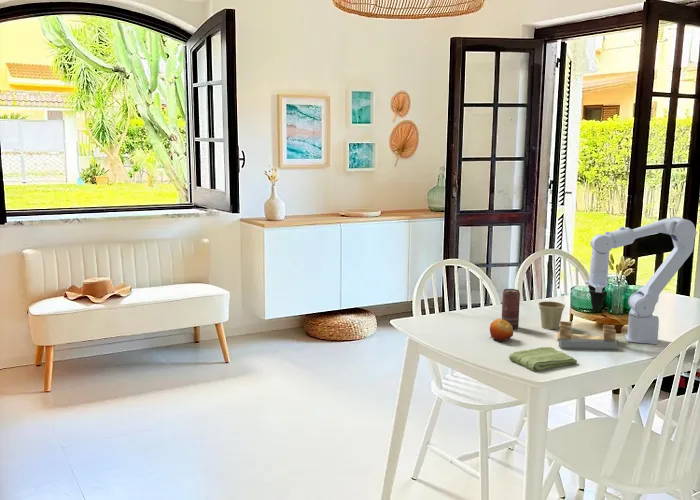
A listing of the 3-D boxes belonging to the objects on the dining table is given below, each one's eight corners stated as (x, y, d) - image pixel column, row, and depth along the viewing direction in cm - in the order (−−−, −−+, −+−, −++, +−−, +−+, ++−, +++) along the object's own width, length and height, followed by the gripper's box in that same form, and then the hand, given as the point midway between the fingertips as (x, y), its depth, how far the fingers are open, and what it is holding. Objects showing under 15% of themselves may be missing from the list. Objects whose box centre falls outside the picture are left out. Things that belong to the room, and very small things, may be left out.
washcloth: (579, 365, 199) (580, 355, 199) (534, 374, 192) (535, 363, 191) (548, 353, 211) (549, 343, 210) (505, 360, 203) (506, 350, 203)
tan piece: (615, 339, 224) (616, 325, 223) (617, 346, 217) (618, 331, 216) (557, 334, 229) (558, 320, 228) (557, 340, 222) (558, 326, 221)
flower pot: (565, 331, 233) (566, 308, 232) (537, 330, 235) (539, 306, 234) (562, 324, 242) (563, 302, 241) (536, 323, 244) (537, 300, 243)
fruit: (492, 329, 230) (503, 313, 226) (509, 345, 226) (520, 328, 222) (479, 334, 225) (490, 317, 221) (496, 350, 221) (507, 333, 217)
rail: (613, 348, 216) (614, 339, 215) (616, 351, 213) (617, 342, 212) (558, 347, 216) (558, 338, 216) (560, 350, 213) (561, 341, 213)
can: (512, 331, 234) (514, 292, 232) (497, 327, 239) (499, 289, 236) (522, 327, 238) (524, 290, 236) (507, 324, 242) (509, 287, 240)
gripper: (585, 265, 230) (582, 302, 232) (587, 272, 216) (584, 312, 219) (607, 266, 228) (603, 304, 230) (610, 274, 214) (606, 314, 216)
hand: (595, 308), depth 224 cm, fingers open, 7 cm apart
